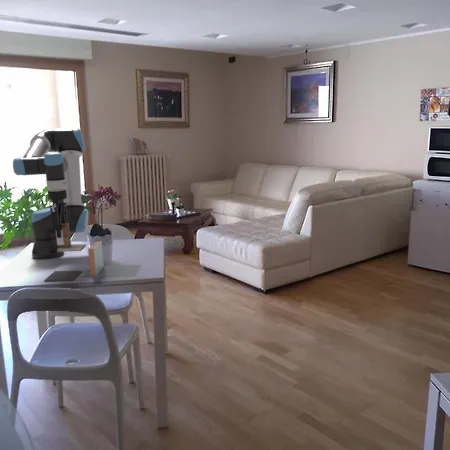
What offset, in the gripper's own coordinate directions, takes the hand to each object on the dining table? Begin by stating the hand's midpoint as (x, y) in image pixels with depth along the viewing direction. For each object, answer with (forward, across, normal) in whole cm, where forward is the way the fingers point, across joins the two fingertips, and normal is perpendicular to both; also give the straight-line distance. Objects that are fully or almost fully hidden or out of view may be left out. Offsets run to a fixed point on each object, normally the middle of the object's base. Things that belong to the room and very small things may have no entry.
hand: (62, 243), depth 203 cm
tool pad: (+14, -6, -1) cm, 15 cm away
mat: (+14, 0, -21) cm, 25 cm away
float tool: (+3, 0, -4) cm, 5 cm away
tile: (+13, 0, -14) cm, 19 cm away
